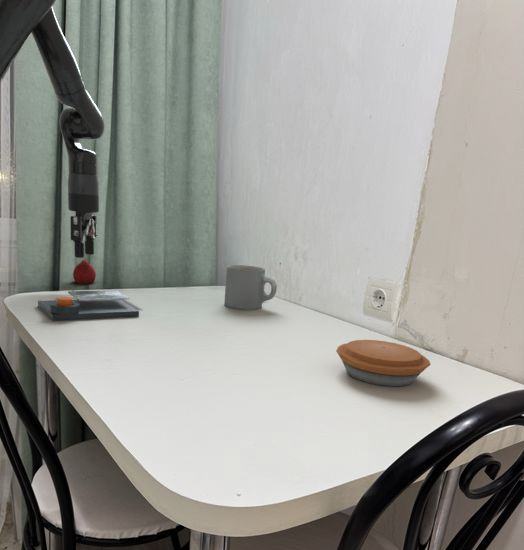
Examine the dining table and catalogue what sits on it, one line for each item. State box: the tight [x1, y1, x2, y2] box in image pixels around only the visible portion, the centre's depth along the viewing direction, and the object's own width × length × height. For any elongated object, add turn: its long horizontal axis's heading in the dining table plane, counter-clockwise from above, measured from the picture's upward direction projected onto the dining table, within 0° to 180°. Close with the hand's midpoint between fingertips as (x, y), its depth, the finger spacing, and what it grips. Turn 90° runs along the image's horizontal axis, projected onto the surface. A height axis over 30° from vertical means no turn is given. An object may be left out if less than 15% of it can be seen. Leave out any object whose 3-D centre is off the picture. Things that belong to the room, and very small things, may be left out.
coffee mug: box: [223, 264, 277, 311], centre depth 132 cm, size 13×10×10 cm
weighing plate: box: [67, 289, 130, 301], centre depth 114 cm, size 11×9×1 cm
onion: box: [72, 258, 97, 285], centre depth 136 cm, size 6×6×8 cm
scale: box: [37, 299, 140, 322], centre depth 111 cm, size 18×14×3 cm
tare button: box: [56, 296, 73, 306], centre depth 104 cm, size 3×3×2 cm
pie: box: [335, 339, 431, 387], centre depth 86 cm, size 15×16×5 cm
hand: (84, 255), depth 135 cm, fingers open, 8 cm apart
